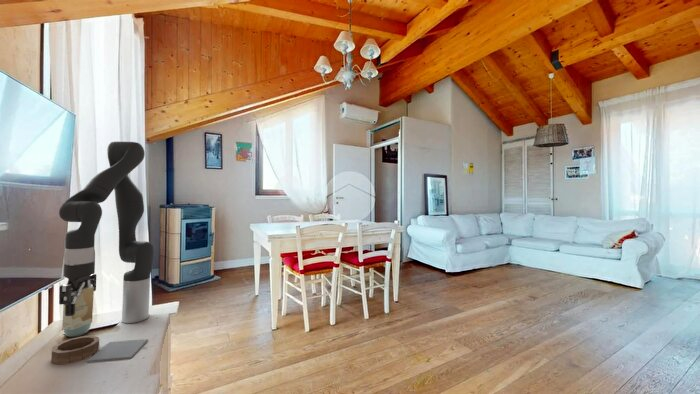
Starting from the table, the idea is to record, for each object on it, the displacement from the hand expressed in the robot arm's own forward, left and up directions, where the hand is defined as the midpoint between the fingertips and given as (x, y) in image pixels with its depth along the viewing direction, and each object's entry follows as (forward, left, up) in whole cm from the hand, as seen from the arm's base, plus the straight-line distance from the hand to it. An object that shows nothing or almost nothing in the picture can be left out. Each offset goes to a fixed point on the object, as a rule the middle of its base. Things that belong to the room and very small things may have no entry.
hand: (78, 310), depth 95 cm
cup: (-16, -9, -14) cm, 23 cm away
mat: (0, +12, -14) cm, 19 cm away
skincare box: (0, 0, -5) cm, 5 cm away
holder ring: (0, 0, -14) cm, 14 cm away
